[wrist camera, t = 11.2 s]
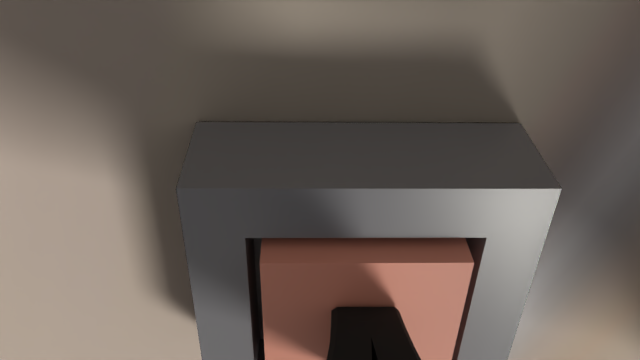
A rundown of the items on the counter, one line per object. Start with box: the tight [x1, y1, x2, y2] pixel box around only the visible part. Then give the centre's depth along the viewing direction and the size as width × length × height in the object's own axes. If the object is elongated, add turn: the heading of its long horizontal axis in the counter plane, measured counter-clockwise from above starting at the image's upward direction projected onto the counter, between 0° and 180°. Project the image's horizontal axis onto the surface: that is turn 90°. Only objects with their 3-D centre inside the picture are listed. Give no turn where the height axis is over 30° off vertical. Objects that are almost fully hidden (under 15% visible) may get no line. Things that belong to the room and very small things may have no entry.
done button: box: [260, 238, 474, 360], centre depth 13 cm, size 4×4×2 cm
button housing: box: [176, 122, 562, 360], centre depth 14 cm, size 7×7×2 cm
